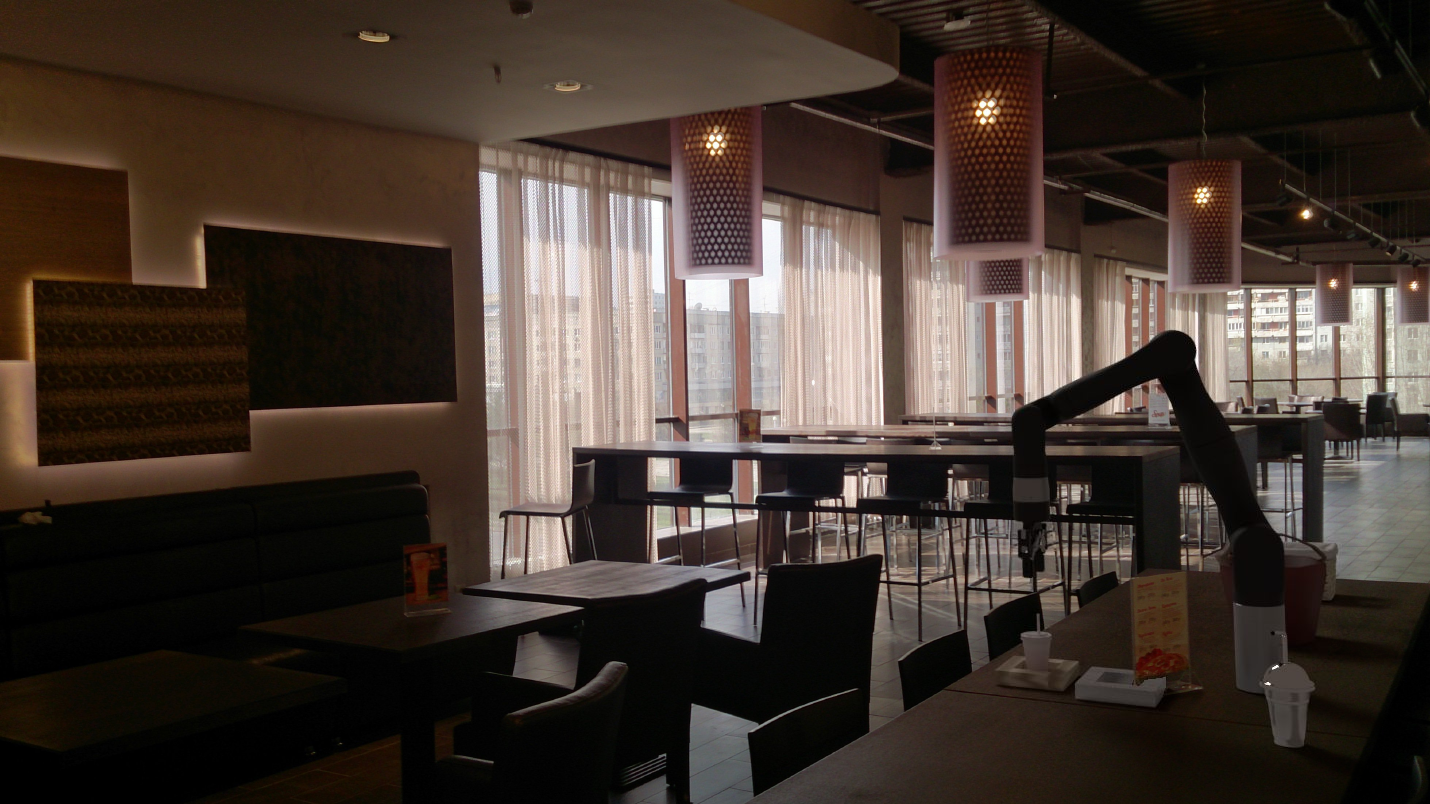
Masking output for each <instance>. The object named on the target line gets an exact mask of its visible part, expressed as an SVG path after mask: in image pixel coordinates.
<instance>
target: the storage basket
mask: <svg viewBox="0 0 1430 804" xmlns="http://www.w3.org/2000/svg"><path fill="white" fill-rule="evenodd" d="M1307 542H1308V543H1310V544H1312V545H1315V546H1316V547H1317V548H1319V549H1320V550H1321V551H1322V552H1323V553H1324V554H1325V555H1326V556H1327V559H1326V561H1325V563H1326V572H1327V576H1326V582H1325V587H1324V593H1323V598H1322V601H1331V600H1332V599H1334V597H1335V596H1336V595H1335V594H1336V584H1337V582H1336V581H1337V555H1338V554H1339V547H1338V544H1337V543H1336V542H1316V541H1315V542H1313V541H1312V542H1309V541H1307ZM1283 545H1284V553H1285V555H1296V556H1309V557H1312V558H1315V559H1319V558H1320V556H1319V555H1318V554H1317V553H1316V552H1315V551H1314V550H1313V549H1312V548H1311V547H1309V546H1307V545H1305V544H1302V543H1300V542H1298V541H1283Z"/></svg>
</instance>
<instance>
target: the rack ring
mask: <svg viewBox="0 0 1430 804" xmlns="http://www.w3.org/2000/svg"><path fill="white" fill-rule="evenodd" d="M1133 680H1134V671H1133V669H1124V668H1123V669H1122V668H1112V667H1104V666H1103V667H1102V666H1101V667H1100V666H1091V667H1090V668H1089V669H1088V670H1087V671H1086V672H1085V673H1084V674H1083V675H1081V677H1080V678H1079V679H1078V680H1077V681H1076V682H1075V683H1074V689H1075V690H1074V696H1075V698H1074V699H1075V700H1083V701H1092V702H1101V703H1109V704H1110V703H1111V704H1119V705H1120V704H1121V705H1131V706H1140V707H1141V706H1142V707H1149V708H1156V707H1157V706H1158V704H1159V703H1160V701H1161V700H1162V698H1163V697H1164V696H1163V694H1164V691H1165V688H1166V677H1163V678H1156V679H1148V680H1144V682H1143V683H1142V684H1141V685H1140V686H1137V685H1132V683H1133ZM1164 695H1165V694H1164Z"/></svg>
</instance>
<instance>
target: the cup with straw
mask: <svg viewBox="0 0 1430 804" xmlns="http://www.w3.org/2000/svg"><path fill="white" fill-rule="evenodd" d="M1271 635H1282V639H1283V662H1277V663H1275V664H1273V665H1271V666H1270V667H1269V668H1268V669H1267V671H1266V673H1265V675H1264V677H1262V678H1261V679H1260V683H1259V685H1260V686H1261V687H1263V688H1264V689H1265V694H1264V696H1265V698H1266V701H1267V704H1268V710H1269V711H1268V712H1269V717H1270V724H1271V730H1272V735H1273V739H1274V740H1273V742H1274V744H1276V745H1278V746H1281V747H1286V748H1302V747H1304V746H1305V743H1304V741H1305V738H1306V730H1307V729H1306V728H1307V717H1308V705H1309V703H1310V698H1311V692H1314V690H1316V686H1315V683H1314V682H1313V681H1312V680H1310V677H1309V676H1308V673H1307V672H1306V670H1305V669H1304V668H1303V667H1302V666H1300V665H1299V664H1297V663H1294V662H1291V661H1289V658H1288V657H1289V655H1288V653H1289V652H1288V645H1287V635H1286V633H1285V632H1284V631H1272V632H1271Z"/></svg>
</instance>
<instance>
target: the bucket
mask: <svg viewBox="0 0 1430 804" xmlns="http://www.w3.org/2000/svg"><path fill="white" fill-rule="evenodd" d="M1277 533H1278V535H1279V536H1280V537H1284V538H1286V539H1287V538H1288V539H1291V540H1294V541H1295V542H1300V543H1302V544H1305V545H1307V546H1309V547H1311V548H1312V549H1313V550H1314V551H1315V552H1316V553H1317V554H1318V555H1319V556H1320V558H1319V559H1315V558H1312V557H1309V556H1296V555H1285V593H1284V607H1285V633H1286V635H1287V646H1298V645H1299V646H1300V645H1303V644H1307V643H1312V642H1315V640H1316V635H1317V631H1318V630H1317V629H1318V624H1319V619H1320V615H1321V613H1320V612H1321V608H1322V602H1323V600H1322V598H1323V593H1324V587H1325V582H1326V576H1327V572H1326V563H1325V561H1326V559H1327V556H1326V555H1325V554H1324V553H1323V552H1322V551H1321V550H1320V549H1319V548H1317V547H1316V546H1315V545H1312V544H1310V543H1308V542H1309V541H1305V540H1304V539H1301V538H1297V537H1295V536H1291V535H1289V534H1286V533H1283V532H1282V533H1281V532H1277ZM1231 553H1232V550H1231V547H1230V543H1229V539H1228V538H1227V540H1226V543H1225V545H1224V546H1223V549H1221V550H1218V551H1217V553H1215V554H1214V558H1215V559H1216V561H1217V563H1218V564H1219V574H1220V578H1221V579H1220V580H1221V582H1222V587H1223V592H1224V595H1225V599H1226V602H1227V608H1228V611H1229V616H1230V620H1231V624H1232V628H1233V629H1234V608H1233V602H1234V601H1233V585H1234V572H1233V554H1231Z"/></svg>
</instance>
